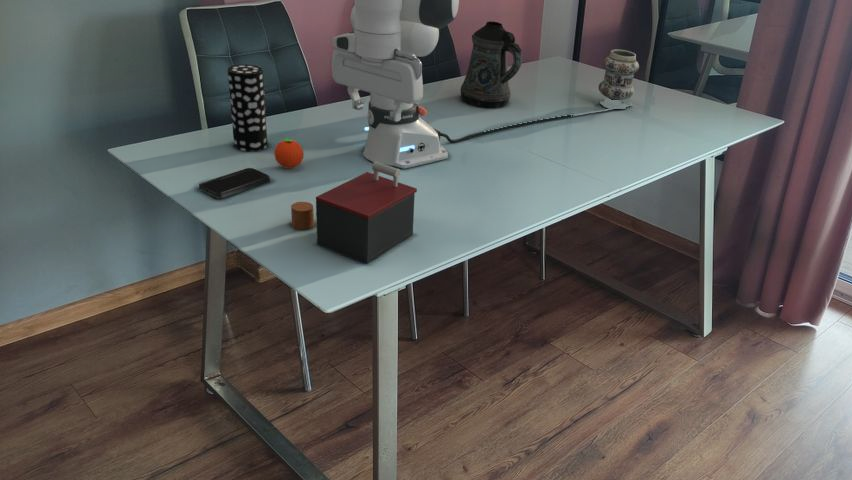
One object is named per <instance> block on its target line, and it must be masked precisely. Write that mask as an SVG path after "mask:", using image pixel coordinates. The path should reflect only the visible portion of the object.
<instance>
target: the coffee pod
mask: <svg viewBox="0 0 852 480" xmlns="http://www.w3.org/2000/svg"><path fill="white" fill-rule="evenodd" d="M290 215H291V227H292V228H294V229H296V230H301V231H302V230H310V229H312V228H313V227H314V223H315V218H314V215H315V214H314V205H313V203H311V202H308V201H296V202H293V203H292V204H291V205H290Z"/></svg>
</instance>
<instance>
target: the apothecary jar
mask: <svg viewBox="0 0 852 480" xmlns="http://www.w3.org/2000/svg"><path fill="white" fill-rule="evenodd" d="M602 64H603V66H604V68H605V73H604V77H603V80H602V81H601V82H600V83H599V84H598V91H599V93H600V94H601V95H602V96H604V97H606V98H607V99H608V98H609V99H611V100H620V101H623V100H627V99H630V98H632V96H634V94H635V89H634V87H633V81H634V76H635V73H637V72H638V70H639V69H640V64H639V62H638V61H637V54H636V53H635V52H632V51H629V50H625V49H619V48H617V49H612V50H610V53H609V55H608V56H606V57H605V59H604V60H603V63H602Z"/></svg>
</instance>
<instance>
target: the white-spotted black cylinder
mask: <svg viewBox="0 0 852 480" xmlns="http://www.w3.org/2000/svg"><path fill="white" fill-rule="evenodd" d="M227 78H228V91H229V102H230V113H231V115H230V116H231V126H232V136H233V146H234V148H235V149H236V150H239V151H243V152H258V151H259V152H260V151H262V150H264V149H266V148H268V132H267V131H268V129H267V120H266V119H267V118H266V117H267V115H266V101H265V83H264V69H263V67H261V66H259V65H255V64H246V63H245V64H244V63H243V64H234V65H229V66H228V67H227Z"/></svg>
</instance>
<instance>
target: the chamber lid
mask: <svg viewBox="0 0 852 480" xmlns="http://www.w3.org/2000/svg"><path fill="white" fill-rule="evenodd" d="M371 169H372V170H373V173H372V172H369V171H365V173H362V174H360V175H358V176H356V177H354V178H351V179H349V180H348V181H346V182H344V183H341V184H339V185H337V186H335V187H333V188H331V189H329V190H327V191H325V192H323V193H321V194H319V195H317V196H315V202H316V201H319V202H322V203H325V204H327V205H330V206H333V207H336V208H338V209H341V210H344V211H346V212H349V213H352V214H355V215H357V216H360V217H363V218H366V219H370V218H371V217H373V216H375V215H377V214H378V213H380V212H382V211H384V210H385V209H387V208H389V207H391V206H393V205H394V204H396V203H398V202H400V201H401V200H403V199H405V198H407V197H408V196H410V195H412V194H414V193H415V194H416V193H417V192H418V188H417V187H413V186H410V185H408V184H405V183H402V182H399V177H400V176H401V170H400V169H399V168H398V167H394V166H391V165H384V164H381V163H378V162H372V164H371ZM379 173H381V174H384V175H387V176H390V177H392V179H391V178H390V179H389V178H388V177H387V178H386V177H384V176H381V175H379Z"/></svg>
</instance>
